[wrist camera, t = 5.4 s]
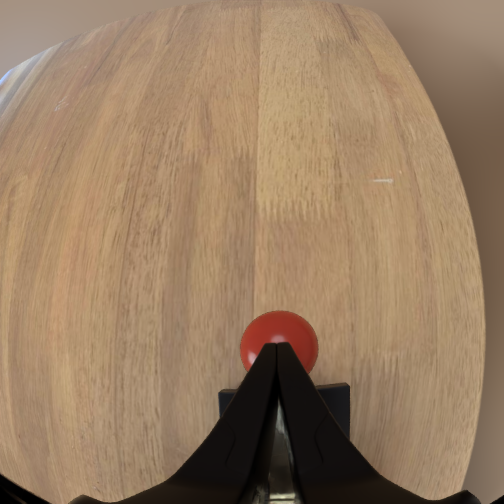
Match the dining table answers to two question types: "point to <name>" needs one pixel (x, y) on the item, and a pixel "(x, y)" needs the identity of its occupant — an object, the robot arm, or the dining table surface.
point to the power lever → (306, 348)
